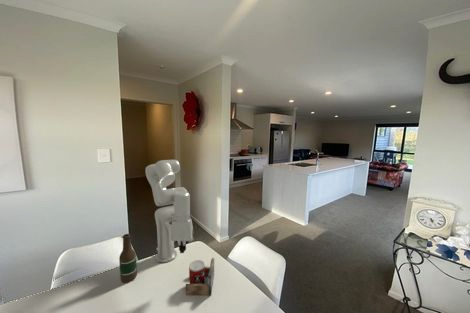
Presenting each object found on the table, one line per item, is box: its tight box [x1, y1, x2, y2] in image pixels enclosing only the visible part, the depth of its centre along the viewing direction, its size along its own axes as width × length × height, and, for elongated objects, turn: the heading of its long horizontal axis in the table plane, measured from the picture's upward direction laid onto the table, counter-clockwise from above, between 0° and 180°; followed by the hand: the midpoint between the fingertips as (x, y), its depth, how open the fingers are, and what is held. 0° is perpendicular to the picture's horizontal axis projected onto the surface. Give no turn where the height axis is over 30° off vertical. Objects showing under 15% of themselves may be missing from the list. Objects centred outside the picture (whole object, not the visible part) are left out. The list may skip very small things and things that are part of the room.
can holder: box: [185, 257, 215, 297], centre depth 98 cm, size 12×13×10 cm
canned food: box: [188, 259, 206, 284], centre depth 97 cm, size 8×8×11 cm
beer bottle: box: [118, 233, 138, 284], centre depth 102 cm, size 8×8×24 cm
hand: (182, 251), depth 97 cm, fingers closed
